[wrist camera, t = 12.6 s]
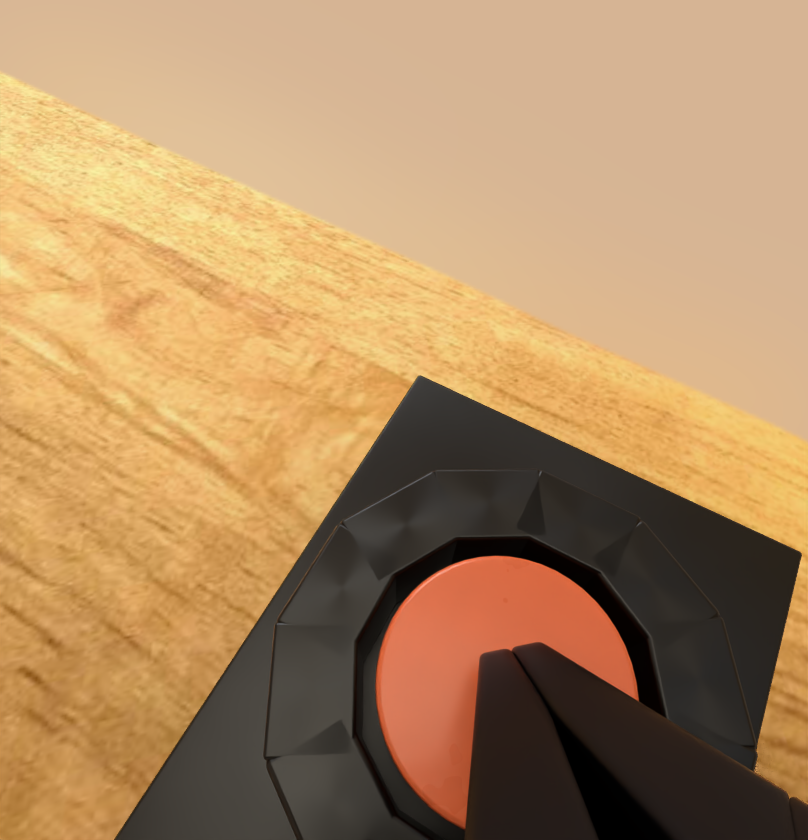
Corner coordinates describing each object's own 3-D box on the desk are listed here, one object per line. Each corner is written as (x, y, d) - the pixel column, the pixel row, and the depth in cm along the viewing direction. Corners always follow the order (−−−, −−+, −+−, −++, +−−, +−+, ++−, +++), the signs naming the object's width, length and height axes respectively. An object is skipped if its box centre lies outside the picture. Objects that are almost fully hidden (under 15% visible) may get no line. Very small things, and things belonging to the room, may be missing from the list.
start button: (552, 886, 9) (584, 909, 7) (335, 745, 9) (323, 741, 8) (634, 650, 10) (674, 629, 9) (442, 548, 11) (449, 513, 10)
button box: (524, 1076, 12) (693, 1481, 5) (202, 840, 14) (14, 908, 7) (671, 623, 17) (869, 516, 10) (412, 489, 18) (422, 319, 12)
